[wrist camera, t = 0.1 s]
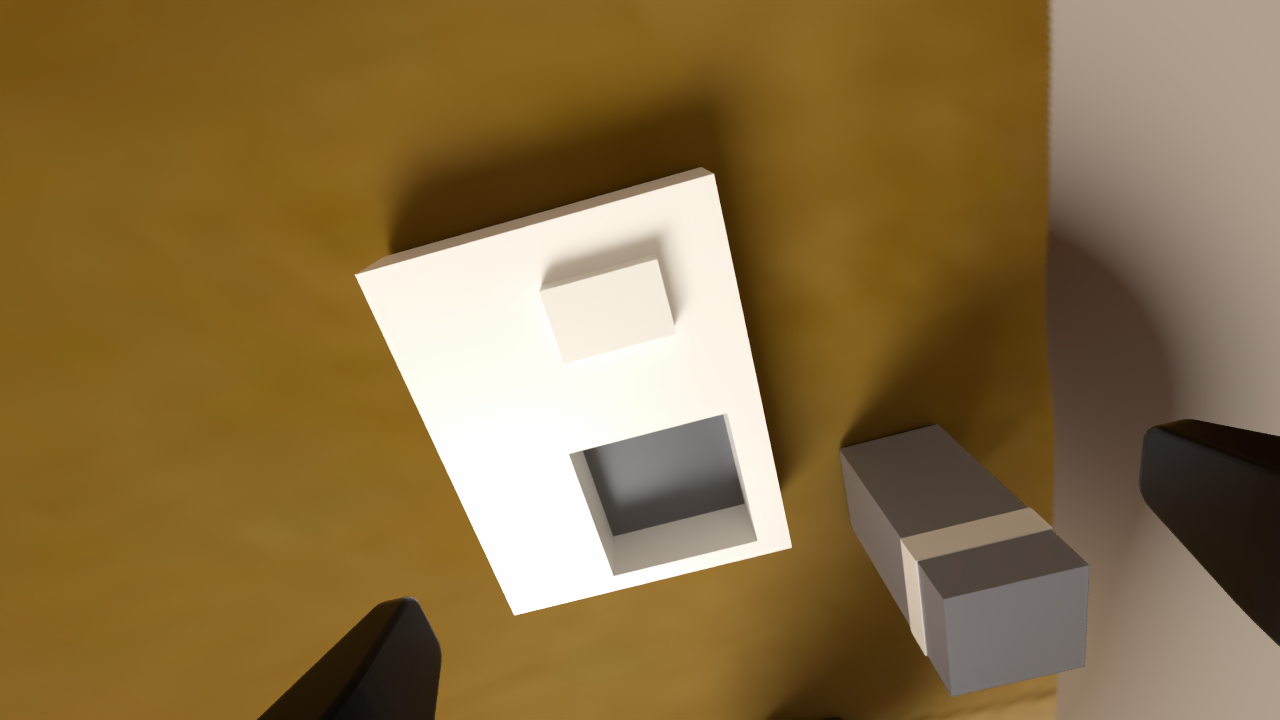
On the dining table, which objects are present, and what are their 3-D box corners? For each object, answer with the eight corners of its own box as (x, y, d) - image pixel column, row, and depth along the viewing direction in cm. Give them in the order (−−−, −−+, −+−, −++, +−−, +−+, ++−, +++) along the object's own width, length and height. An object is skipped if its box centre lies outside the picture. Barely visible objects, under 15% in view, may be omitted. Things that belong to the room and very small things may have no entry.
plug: (945, 504, 25) (1086, 667, 18) (850, 528, 25) (950, 698, 18) (939, 422, 23) (1091, 563, 16) (837, 448, 24) (941, 598, 16)
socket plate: (774, 507, 25) (797, 560, 22) (523, 569, 25) (511, 629, 22) (701, 166, 19) (718, 175, 16) (384, 256, 20) (345, 280, 17)
